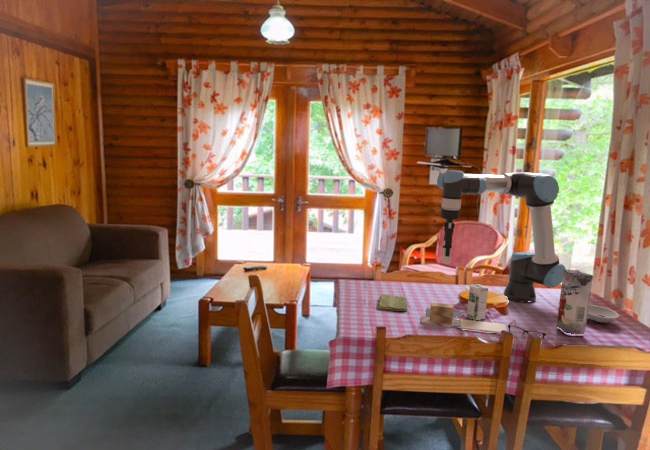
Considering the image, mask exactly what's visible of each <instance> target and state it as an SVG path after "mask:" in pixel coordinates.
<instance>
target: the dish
mask: <svg viewBox="0 0 650 450" xmlns="http://www.w3.org/2000/svg"><path fill="white" fill-rule="evenodd" d="M593 314H596V315H593ZM597 315H602V316H605V317H601V316H597ZM619 317H620V315H619V313H618V312H617V311H615V310H613V309H610V308H608V307H605V306H600V305H595V304H589V308H588V315H587V319H590V320H591V321H594V320H595V322H596V321H600V323H604V322H605V323H611V322H612V321H615V319H618V318H619Z"/></svg>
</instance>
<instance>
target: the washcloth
mask: <svg viewBox="0 0 650 450" xmlns="http://www.w3.org/2000/svg"><path fill="white" fill-rule="evenodd" d="M378 300H379V302H378V306H377V309H378V310H380V311H393V312H403V313H407V312H408V305H407V302H408V301H407V297H406V296H399V295H390V294H386V293H385V294H384V293H382V294H381V295H380V296H379V299H378Z"/></svg>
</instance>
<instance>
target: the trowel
mask: <svg viewBox="0 0 650 450" xmlns="http://www.w3.org/2000/svg"><path fill="white" fill-rule="evenodd" d="M430 309H431V311H430V317H427V316H426V315H421V320H420V324H421V325H427V324H430V325H429V326H435V325H440V326H439V327H444V326H450V327H449V328H452V327H461V324H460V320H453V311H454V304H449V303H440V302H430Z"/></svg>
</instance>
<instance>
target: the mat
mask: <svg viewBox="0 0 650 450" xmlns="http://www.w3.org/2000/svg"><path fill="white" fill-rule="evenodd" d="M430 311H431V308H426V313H425V314H426V315H425V316H427V317H430ZM462 314H464V311H463V312H462V311H455V310H453V319H454V318H456V316H457V318H459V317H460V316H462ZM457 318H456V319H457Z"/></svg>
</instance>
